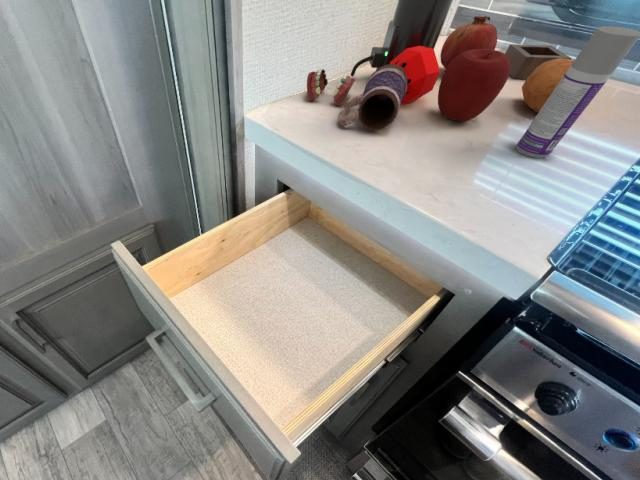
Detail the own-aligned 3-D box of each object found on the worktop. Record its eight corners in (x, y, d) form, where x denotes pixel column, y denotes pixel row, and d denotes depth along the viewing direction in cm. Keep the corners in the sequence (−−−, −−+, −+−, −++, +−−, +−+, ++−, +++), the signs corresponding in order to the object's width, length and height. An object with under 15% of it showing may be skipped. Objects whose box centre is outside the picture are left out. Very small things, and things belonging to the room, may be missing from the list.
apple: (416, 115, 59) (443, 48, 51) (445, 101, 62) (474, 37, 55) (465, 134, 54) (503, 63, 46) (493, 118, 58) (533, 50, 50)
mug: (408, 56, 55) (400, 83, 48) (408, 101, 59) (401, 130, 53) (347, 74, 60) (332, 100, 53) (351, 114, 65) (338, 142, 58)
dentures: (353, 77, 58) (305, 71, 60) (346, 107, 61) (301, 100, 64) (360, 69, 61) (314, 64, 64) (353, 97, 65) (310, 91, 67)
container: (540, 144, 52) (627, 26, 41) (554, 158, 50) (653, 36, 38) (510, 142, 53) (588, 25, 41) (523, 157, 50) (610, 35, 38)
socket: (513, 78, 70) (526, 56, 67) (498, 65, 76) (509, 44, 72) (556, 80, 70) (571, 58, 66) (538, 66, 75) (551, 45, 72)
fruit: (457, 86, 68) (485, 25, 60) (422, 71, 73) (444, 13, 65) (492, 77, 71) (524, 18, 63) (456, 64, 76) (481, 8, 68)
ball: (374, 71, 62) (409, 41, 55) (400, 64, 65) (437, 35, 58) (387, 112, 63) (423, 88, 56) (412, 104, 66) (450, 80, 59)
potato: (568, 104, 62) (602, 58, 56) (570, 128, 56) (608, 78, 50) (514, 95, 65) (541, 49, 59) (510, 116, 59) (540, 68, 53)
